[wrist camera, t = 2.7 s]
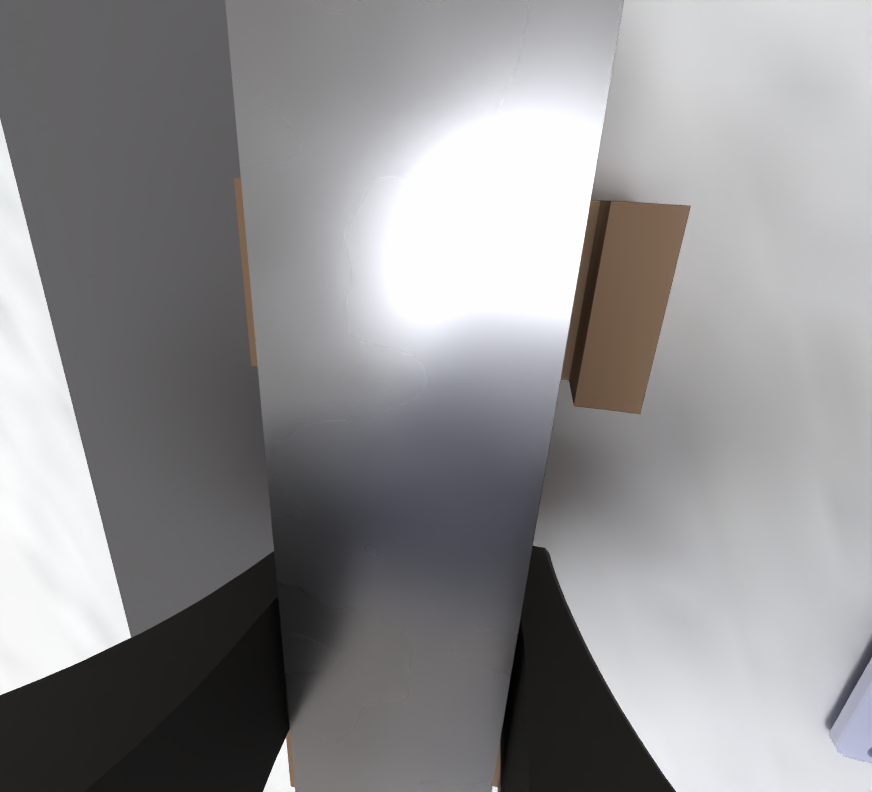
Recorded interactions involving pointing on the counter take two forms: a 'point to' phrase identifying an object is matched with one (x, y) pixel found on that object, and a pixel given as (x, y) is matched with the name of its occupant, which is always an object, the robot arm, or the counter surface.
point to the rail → (410, 350)
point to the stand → (593, 309)
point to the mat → (144, 279)
